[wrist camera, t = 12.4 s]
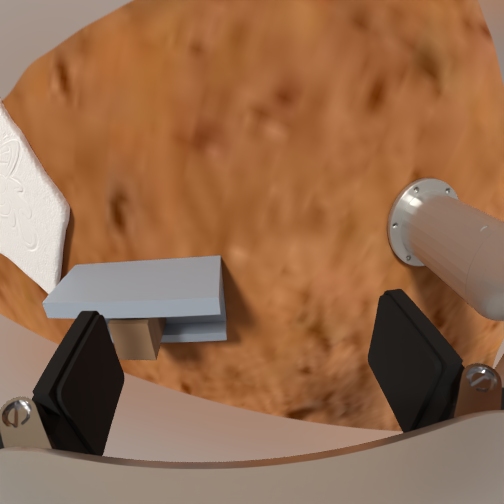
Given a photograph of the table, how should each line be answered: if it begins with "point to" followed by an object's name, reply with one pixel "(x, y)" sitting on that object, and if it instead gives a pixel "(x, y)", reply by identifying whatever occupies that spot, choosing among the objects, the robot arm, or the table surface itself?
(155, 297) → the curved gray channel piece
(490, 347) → the table surface
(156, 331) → the brown block
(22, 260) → the flat white fragment
